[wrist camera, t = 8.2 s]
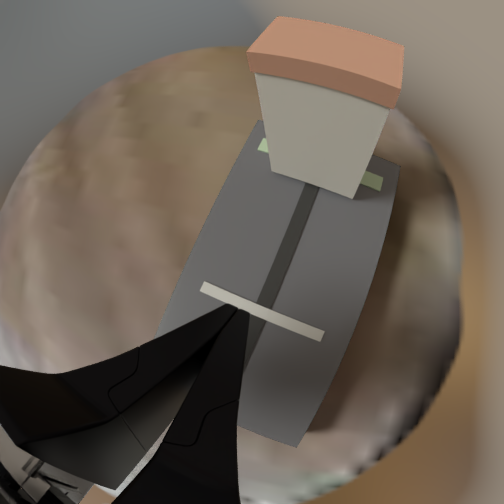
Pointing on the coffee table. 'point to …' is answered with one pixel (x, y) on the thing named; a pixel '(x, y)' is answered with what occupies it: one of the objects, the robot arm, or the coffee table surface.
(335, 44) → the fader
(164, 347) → the robot arm
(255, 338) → the plate
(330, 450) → the coffee table surface
